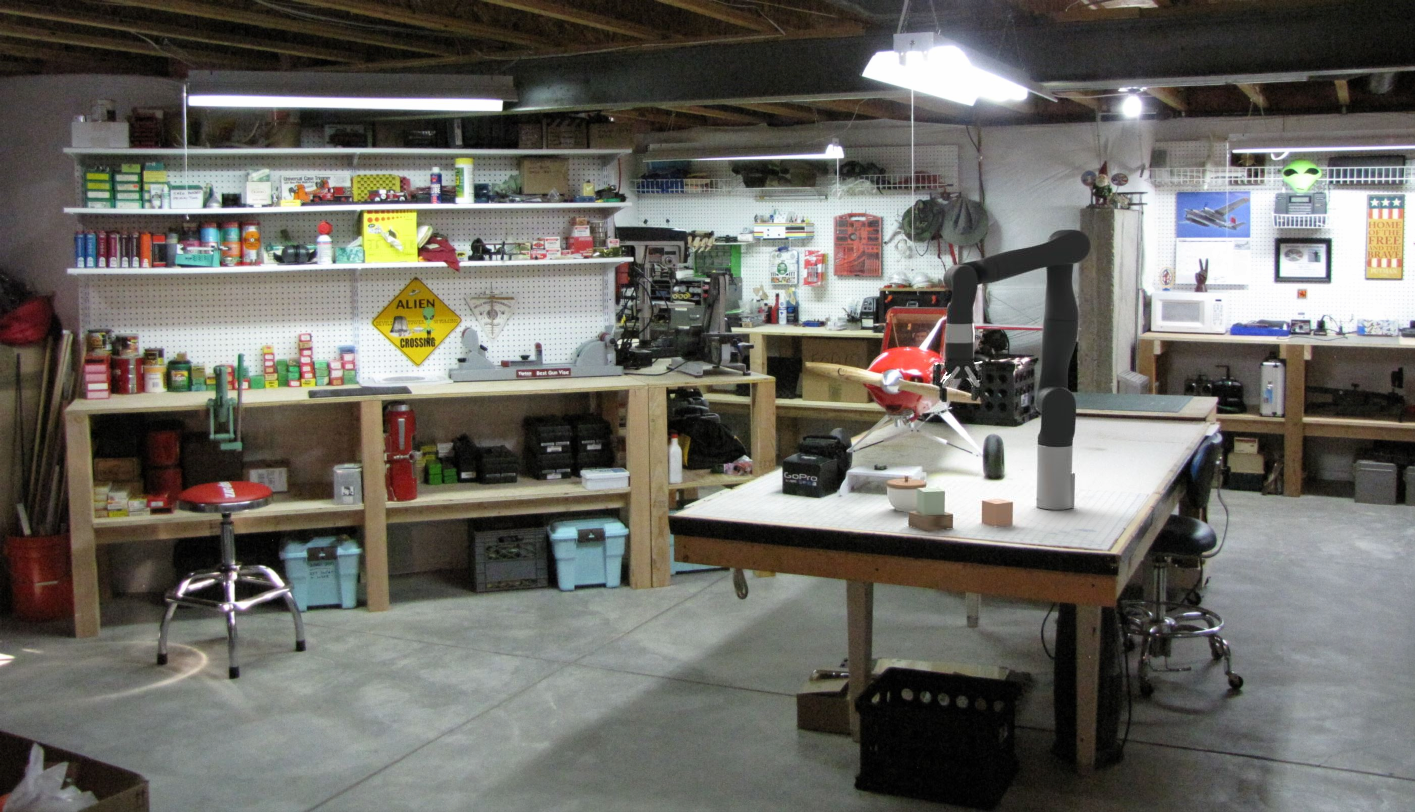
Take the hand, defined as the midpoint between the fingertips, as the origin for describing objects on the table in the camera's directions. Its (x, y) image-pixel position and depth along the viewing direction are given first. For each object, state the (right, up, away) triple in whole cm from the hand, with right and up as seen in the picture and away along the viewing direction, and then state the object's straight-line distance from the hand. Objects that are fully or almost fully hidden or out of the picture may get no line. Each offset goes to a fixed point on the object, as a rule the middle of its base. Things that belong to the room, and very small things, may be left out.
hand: (959, 401), depth 327 cm
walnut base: (-10, -32, -14) cm, 37 cm away
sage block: (-10, -28, -14) cm, 33 cm away
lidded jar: (-13, -30, +8) cm, 33 cm away
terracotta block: (+7, -32, -11) cm, 34 cm away
